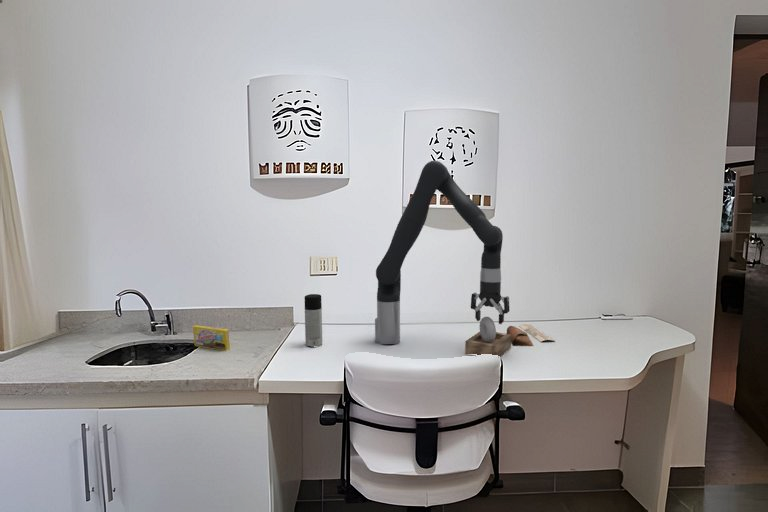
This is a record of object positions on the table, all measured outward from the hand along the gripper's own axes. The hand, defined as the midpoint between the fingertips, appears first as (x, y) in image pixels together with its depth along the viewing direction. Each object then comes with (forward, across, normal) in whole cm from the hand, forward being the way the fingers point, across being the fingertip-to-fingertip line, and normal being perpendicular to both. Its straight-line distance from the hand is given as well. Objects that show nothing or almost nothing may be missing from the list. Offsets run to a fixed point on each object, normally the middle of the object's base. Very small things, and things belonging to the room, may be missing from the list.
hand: (489, 322), depth 169 cm
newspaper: (+12, +9, +31) cm, 35 cm away
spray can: (+11, -61, -30) cm, 69 cm away
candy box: (+11, -93, -54) cm, 108 cm away
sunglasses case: (+12, +6, +20) cm, 24 cm away
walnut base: (+11, 0, 0) cm, 11 cm away
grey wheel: (+8, 0, 0) cm, 8 cm away
